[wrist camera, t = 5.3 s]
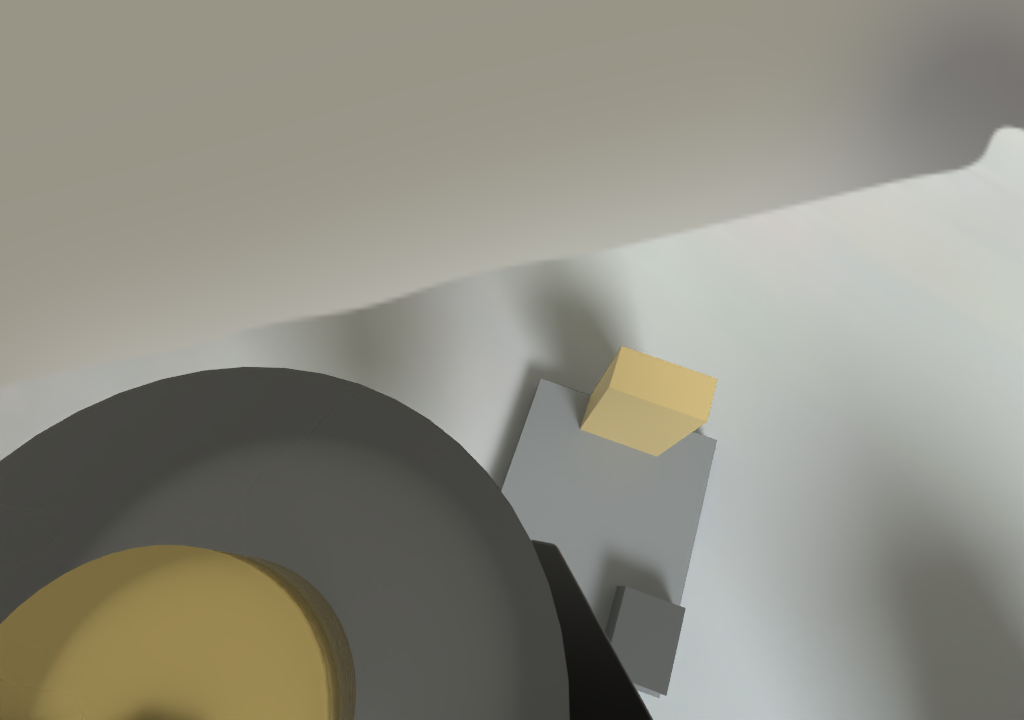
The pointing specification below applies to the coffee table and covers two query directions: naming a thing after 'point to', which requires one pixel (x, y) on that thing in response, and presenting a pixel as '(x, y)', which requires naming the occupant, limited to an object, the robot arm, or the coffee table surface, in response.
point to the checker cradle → (621, 497)
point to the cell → (266, 563)
